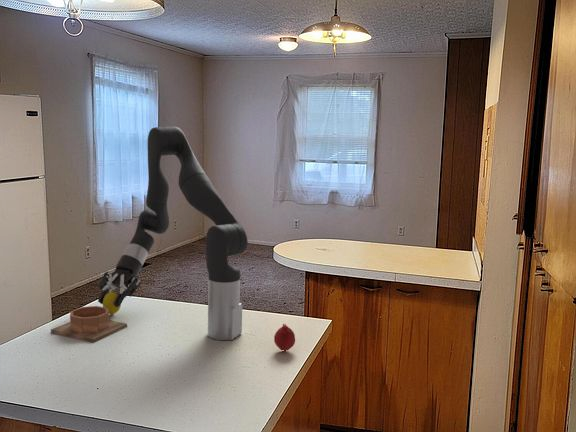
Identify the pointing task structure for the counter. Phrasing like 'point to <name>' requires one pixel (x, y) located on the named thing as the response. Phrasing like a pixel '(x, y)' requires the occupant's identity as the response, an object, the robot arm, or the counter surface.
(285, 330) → the onion
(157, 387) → the counter surface
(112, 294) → the lemon
